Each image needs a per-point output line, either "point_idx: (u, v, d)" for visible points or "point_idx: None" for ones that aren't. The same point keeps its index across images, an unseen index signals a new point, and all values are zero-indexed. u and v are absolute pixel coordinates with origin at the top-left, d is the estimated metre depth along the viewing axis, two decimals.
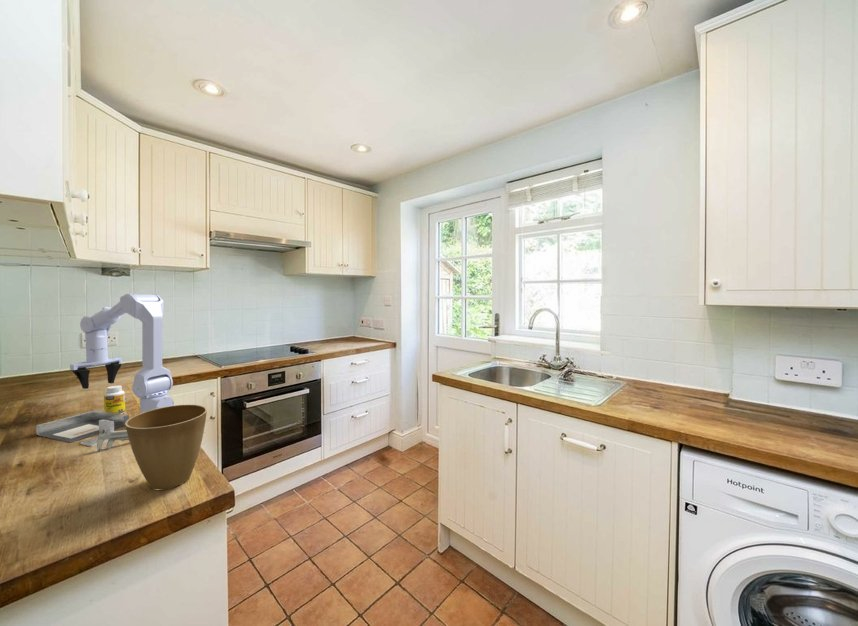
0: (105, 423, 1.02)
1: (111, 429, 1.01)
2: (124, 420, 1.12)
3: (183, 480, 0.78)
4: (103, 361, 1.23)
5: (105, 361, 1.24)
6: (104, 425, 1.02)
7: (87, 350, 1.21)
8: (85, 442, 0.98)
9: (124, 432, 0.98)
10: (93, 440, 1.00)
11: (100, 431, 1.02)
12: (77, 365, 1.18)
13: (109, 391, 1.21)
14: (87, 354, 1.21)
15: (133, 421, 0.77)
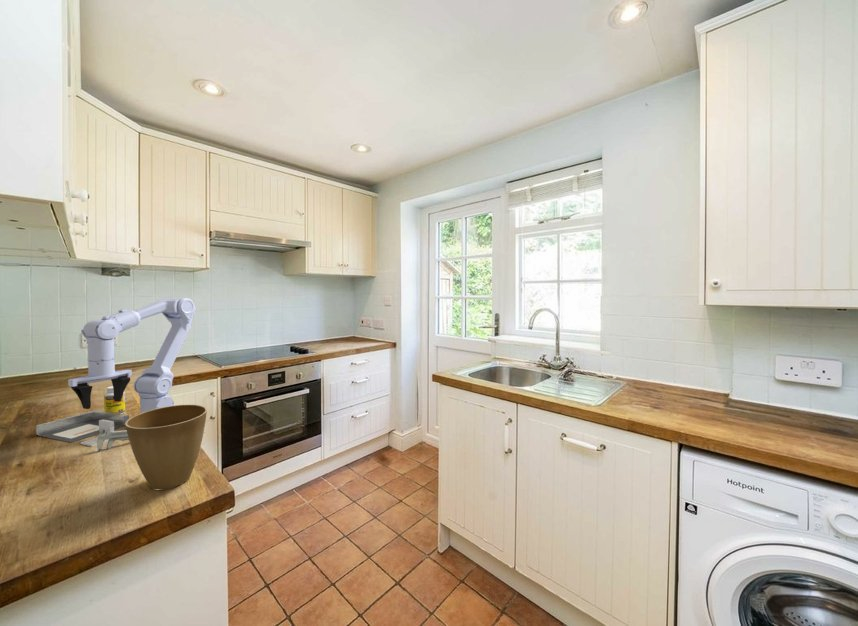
0: (105, 423, 1.02)
1: (111, 429, 1.01)
2: (124, 420, 1.12)
3: (183, 480, 0.78)
4: (109, 375, 1.01)
5: (111, 375, 1.01)
6: (104, 425, 1.02)
7: (89, 361, 0.99)
8: (85, 442, 0.98)
9: (124, 432, 0.98)
10: (93, 440, 1.00)
11: (100, 431, 1.02)
12: (77, 380, 0.95)
13: (109, 391, 1.21)
14: (89, 366, 0.99)
15: (133, 421, 0.77)
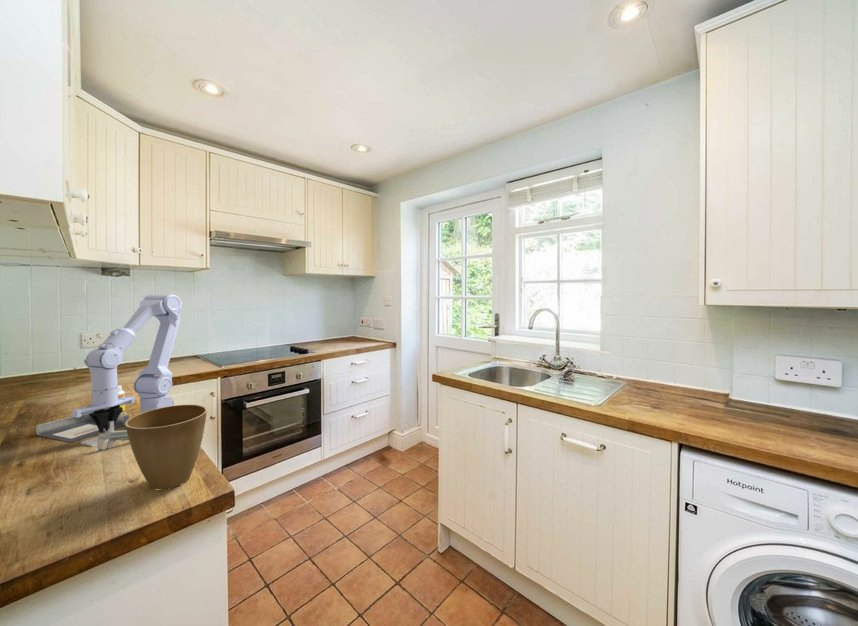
0: None
1: (111, 429, 1.01)
2: (124, 420, 1.12)
3: (183, 480, 0.78)
4: (112, 404, 1.01)
5: (115, 403, 1.02)
6: None
7: (93, 391, 0.99)
8: (85, 442, 0.98)
9: (124, 432, 0.98)
10: (93, 440, 1.00)
11: None
12: (81, 411, 0.96)
13: None
14: (93, 396, 0.99)
15: (133, 421, 0.77)
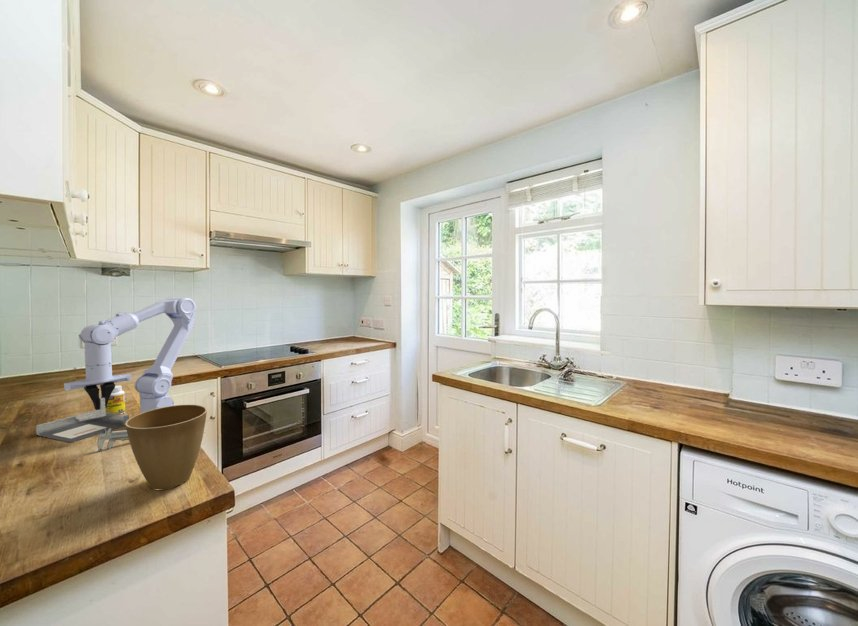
0: None
1: (102, 405, 1.01)
2: (124, 420, 1.12)
3: (183, 480, 0.78)
4: (103, 380, 1.01)
5: (106, 380, 1.02)
6: None
7: (85, 366, 1.00)
8: (78, 416, 1.00)
9: (125, 432, 0.98)
10: (86, 415, 1.01)
11: None
12: (70, 385, 0.97)
13: None
14: (86, 371, 1.00)
15: (133, 421, 0.77)
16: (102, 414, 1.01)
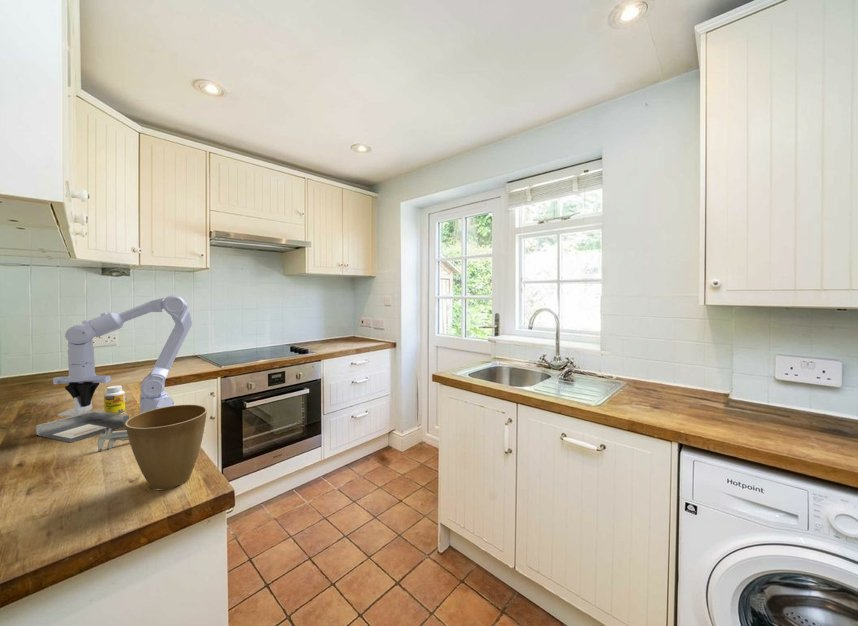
0: None
1: (75, 405, 1.03)
2: (124, 420, 1.12)
3: (183, 480, 0.78)
4: (74, 379, 1.03)
5: (77, 379, 1.03)
6: None
7: None
8: (69, 410, 1.06)
9: (125, 432, 0.98)
10: None
11: None
12: (56, 379, 1.04)
13: (109, 391, 1.21)
14: None
15: (133, 421, 0.77)
16: (75, 413, 1.04)
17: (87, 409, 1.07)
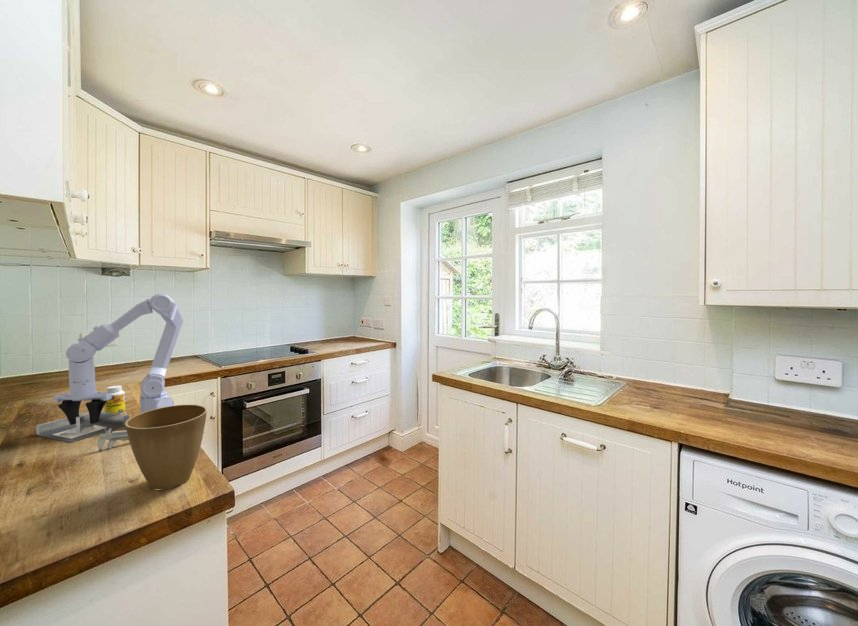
0: None
1: (77, 424, 1.04)
2: (124, 420, 1.12)
3: (183, 480, 0.78)
4: (75, 397, 1.03)
5: (78, 397, 1.03)
6: None
7: None
8: (71, 429, 1.07)
9: (125, 432, 0.98)
10: (76, 429, 1.07)
11: None
12: (57, 397, 1.04)
13: (109, 391, 1.21)
14: None
15: (133, 421, 0.77)
16: (77, 432, 1.04)
17: (89, 428, 1.07)
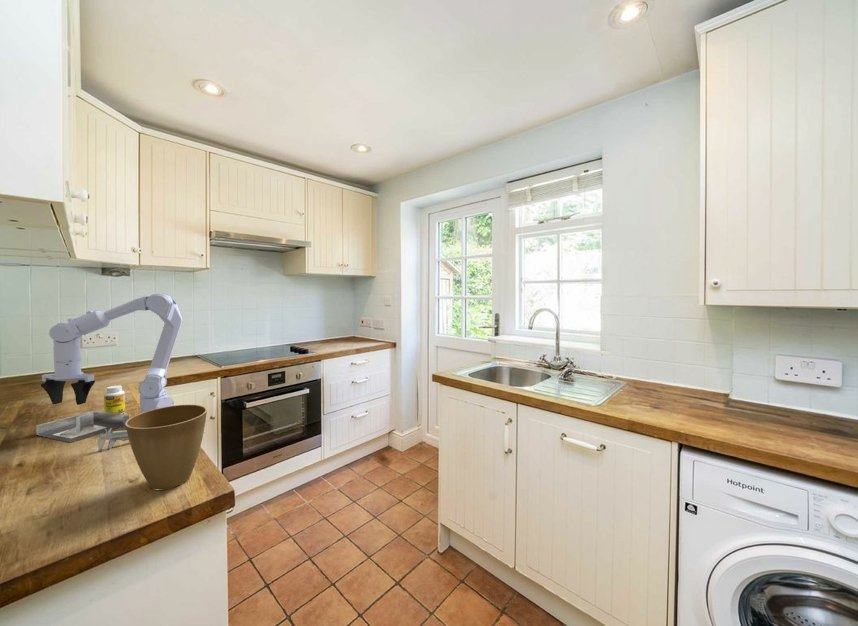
0: None
1: (77, 424, 1.04)
2: (124, 420, 1.12)
3: (183, 480, 0.78)
4: (58, 377, 1.03)
5: (61, 377, 1.03)
6: None
7: None
8: (71, 429, 1.07)
9: (125, 432, 0.98)
10: (76, 429, 1.07)
11: None
12: (44, 376, 1.05)
13: (109, 391, 1.21)
14: None
15: (133, 421, 0.77)
16: (77, 432, 1.04)
17: (89, 428, 1.07)
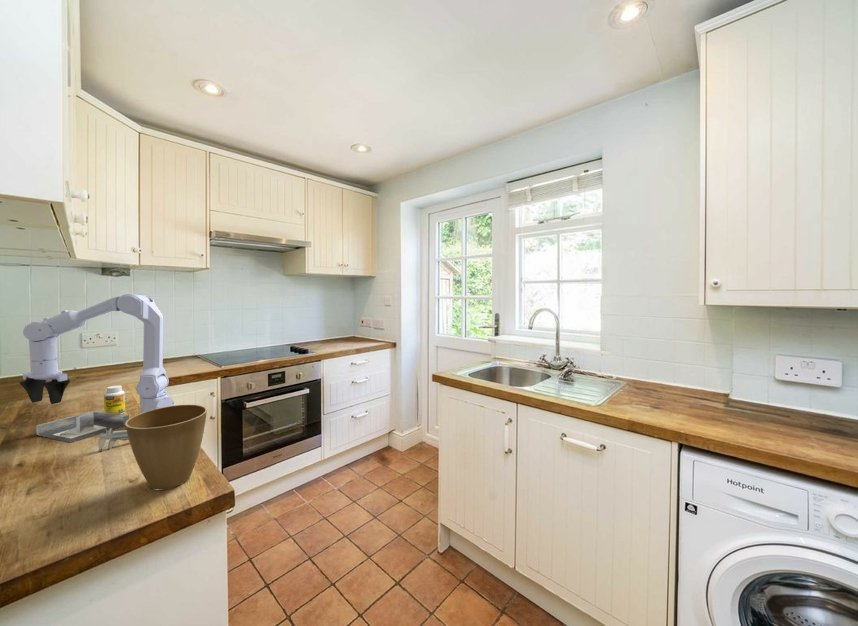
0: None
1: (77, 424, 1.04)
2: (124, 420, 1.12)
3: (183, 480, 0.78)
4: (32, 376, 1.04)
5: (35, 376, 1.04)
6: None
7: None
8: (71, 429, 1.07)
9: (126, 432, 0.98)
10: (76, 429, 1.07)
11: None
12: (24, 374, 1.07)
13: (109, 391, 1.21)
14: None
15: (133, 421, 0.77)
16: (77, 432, 1.04)
17: (89, 428, 1.07)
